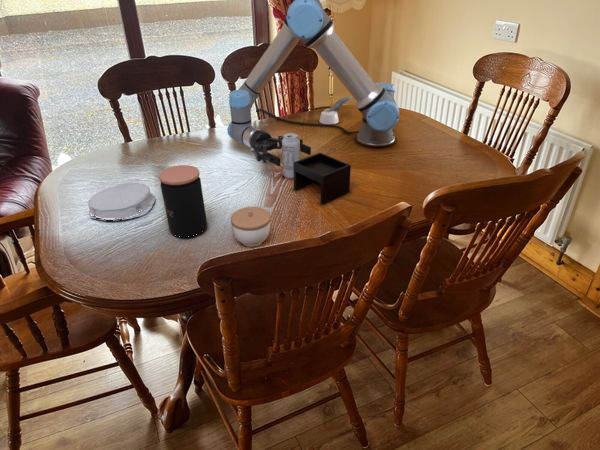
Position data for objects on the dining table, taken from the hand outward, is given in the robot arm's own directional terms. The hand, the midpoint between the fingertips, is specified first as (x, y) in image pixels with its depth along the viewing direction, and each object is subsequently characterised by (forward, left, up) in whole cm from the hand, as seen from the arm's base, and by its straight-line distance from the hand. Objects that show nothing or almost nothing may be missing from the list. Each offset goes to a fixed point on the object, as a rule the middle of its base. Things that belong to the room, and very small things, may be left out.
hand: (295, 156), depth 152 cm
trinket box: (+26, -30, -8) cm, 41 cm away
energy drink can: (-2, 0, -8) cm, 9 cm away
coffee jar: (+11, -43, -8) cm, 45 cm away
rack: (+13, +2, -8) cm, 15 cm away
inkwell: (-42, +47, -8) cm, 64 cm away
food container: (-13, -56, -8) cm, 58 cm away
